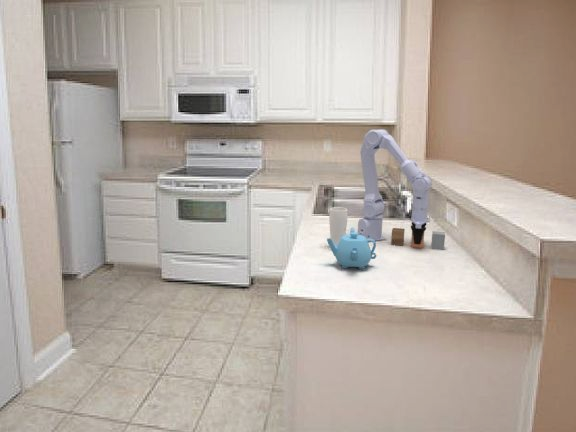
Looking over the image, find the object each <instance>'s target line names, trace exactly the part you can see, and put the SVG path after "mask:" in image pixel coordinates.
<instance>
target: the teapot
mask: <svg viewBox="0 0 576 432" xmlns="http://www.w3.org/2000/svg"><path fill="white" fill-rule="evenodd" d="M326 241H327V244H328V246H329V248H330V250H331V252H332V255H333V256H334V257H335V259H336V261H337V263H338V264H339V265H341V269H342V270H347V269H349V267H355V268H356V267H357V269H358V270H361V271H363V270H366V268H365V267H366V266H367V265H369V263H370V262H371V260H375V259H376V258H377V253H376V252H375V249H376V247H377V241H374V240H373V239H366V238H365V237H364V236H362V235H358V232H355V228H354V227H353V226H351V227H350V233H349V234H345V235H343V236H342V237H341V239H340V241H339V243H338V245H337V246H336V245H335V244H334V242H333V241H332V239H331V238H330V237H329V238H326ZM368 241H370V242H371V243H373V246H372V249H371V247H370V245H369V242H368Z"/></svg>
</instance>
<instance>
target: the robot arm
mask: <svg viewBox="0 0 576 432" xmlns="http://www.w3.org/2000/svg"><path fill="white" fill-rule="evenodd" d="M379 149H384V150H387V151H388V152H389V153H390V155H392V157H393V158H394V159H395V160H396V161H397V162H398V164H400V171H401V173H402V174H403V175H404V176H405V177H406V179H407V180H408V181H409V183H410V184H411V188H412V189H411V190H413V194H412V207H411V208H412V209H411V218H410V221H411V225H410V229H411V233H412V232H413V237H414V244H420V243H421V240H422V236H423V233H424V234H425V231H426V230H427V227H426V226H427V223H430V222H431V219H428V214H429V213H428V212H429V211H428V210H429V199H430V196H429V195H430V189H431V187H432V184H433V183H432V180H431V178H430V177H429V176H428V175H426V173H425V172H423V171H422V170H421V169H420V167H419V166H418V162H417V161H414V160H411V159H409V158H408V157H407V156H406V155H405V154H404V153H405V152H403V151H402V149H401V148H400V146H399V144H398V143H397V142H396V141H395V139H394V137H393V136H392V135H391V134H389V131H388V130H386V129H385V128H381V129H370V130H369V131H368V132H366V133H365V135H364V136H363V142H362V145H361V148H360V150H359V152H360V154H359V155H360V160H361V167H362V174H363V182H364V190H365V192H364V193H365V196H364V198H363V207H362V214H363V215H364V217H363V218H360V219H359V220H358V223H357V233H358V235H362V236H364V237H365V238H366V239H373V240H374V241H375V242H377V241H383V240H384V241H385V240H387V238H386V237H384V236H382V235H383V219H384V218H383V216H384V215H383V213H384V212H386V204H385V202H384V199H383V195H381V193H380V189H379V181H378V173H377V166H376V159H375V155H376V153H377V152H378V150H379ZM369 242H371V241H368V243H369Z"/></svg>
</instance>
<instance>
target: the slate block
mask: <svg viewBox="0 0 576 432" xmlns="http://www.w3.org/2000/svg"><path fill="white" fill-rule="evenodd" d="M431 234H432V235H431V245H430V246H431V247H430V248H431V250H437V251H438V250H440V251H445V242H446V241H445V240H446V238H445V237H446V232H445V231H436V230H432V232H431Z"/></svg>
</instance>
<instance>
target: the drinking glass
mask: <svg viewBox="0 0 576 432" xmlns="http://www.w3.org/2000/svg"><path fill="white" fill-rule="evenodd" d="M348 217H349V215H348V208H346V207H341V206H336V207H330V208H329V221H328V222H329V235H330V236H329V238H331V239H332V241H333V242H334V244H335V245H336V246H337V245H338V243H339V241H340V239H341V237H342V236H343V235H347V233H346V232H347V225H348Z"/></svg>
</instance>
